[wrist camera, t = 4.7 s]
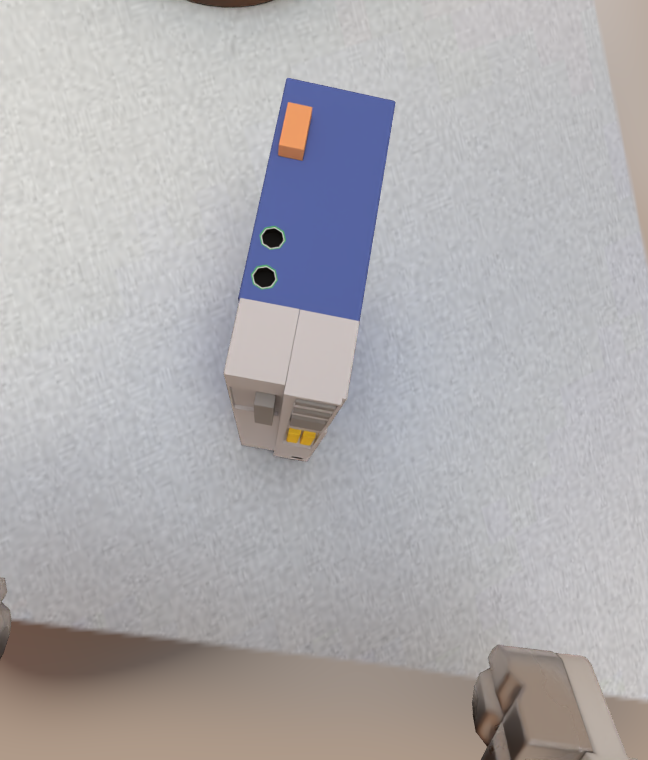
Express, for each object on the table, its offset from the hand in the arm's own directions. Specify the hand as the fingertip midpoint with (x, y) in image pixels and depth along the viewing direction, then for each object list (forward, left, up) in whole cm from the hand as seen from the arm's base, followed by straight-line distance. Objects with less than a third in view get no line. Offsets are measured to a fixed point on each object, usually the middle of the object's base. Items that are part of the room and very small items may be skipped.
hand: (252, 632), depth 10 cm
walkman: (-1, -8, -13) cm, 16 cm away
